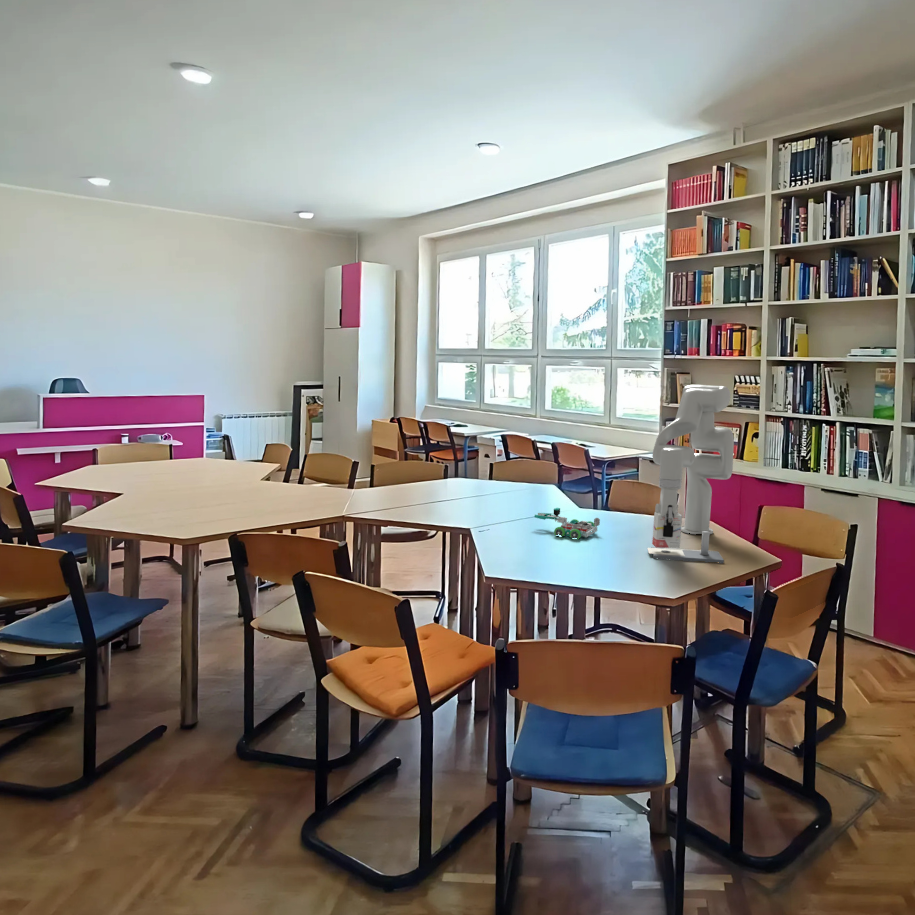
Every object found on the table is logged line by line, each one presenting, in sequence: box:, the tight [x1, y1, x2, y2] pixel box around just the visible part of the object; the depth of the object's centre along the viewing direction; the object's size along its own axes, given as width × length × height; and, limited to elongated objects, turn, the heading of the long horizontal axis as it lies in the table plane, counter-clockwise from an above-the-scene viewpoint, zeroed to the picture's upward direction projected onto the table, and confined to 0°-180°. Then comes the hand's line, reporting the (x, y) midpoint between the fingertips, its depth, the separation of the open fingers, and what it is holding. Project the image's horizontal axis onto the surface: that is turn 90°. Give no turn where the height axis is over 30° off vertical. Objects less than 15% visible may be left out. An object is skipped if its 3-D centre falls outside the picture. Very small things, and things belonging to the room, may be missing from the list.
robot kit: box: [534, 507, 601, 540], centre depth 293 cm, size 19×25×9 cm
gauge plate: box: [646, 531, 725, 564], centre depth 261 cm, size 12×24×9 cm, turn 80°
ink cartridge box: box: [651, 503, 683, 549], centre depth 261 cm, size 9×5×15 cm, turn 92°
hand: (666, 534), depth 262 cm, fingers closed on ink cartridge box, 5 cm apart
